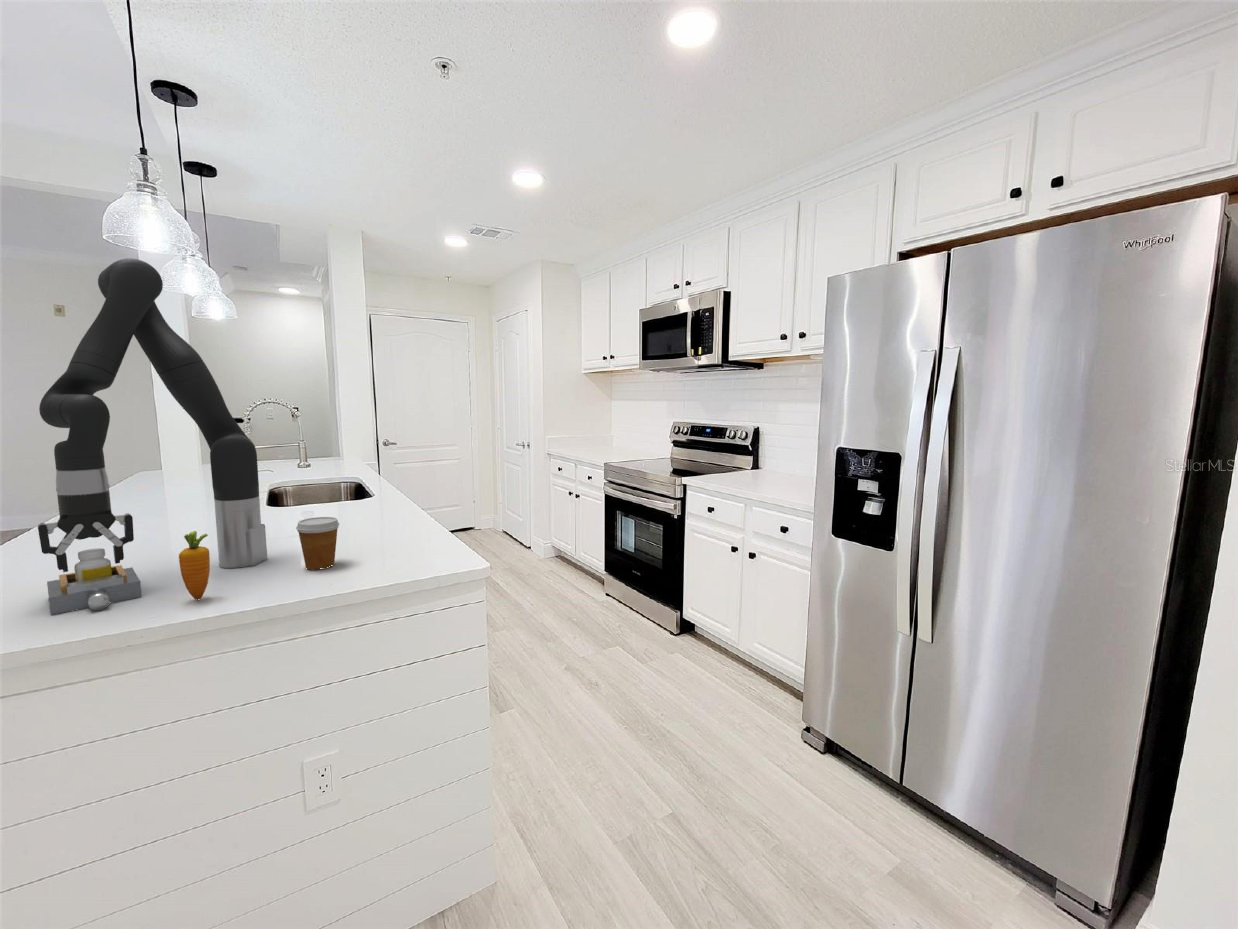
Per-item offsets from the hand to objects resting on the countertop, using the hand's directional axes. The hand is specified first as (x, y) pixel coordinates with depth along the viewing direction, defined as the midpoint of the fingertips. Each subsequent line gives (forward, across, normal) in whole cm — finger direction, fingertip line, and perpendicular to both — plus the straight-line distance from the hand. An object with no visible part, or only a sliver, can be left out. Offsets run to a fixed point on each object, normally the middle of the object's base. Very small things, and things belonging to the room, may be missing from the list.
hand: (92, 566), depth 108 cm
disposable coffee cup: (+7, -40, +13) cm, 42 cm away
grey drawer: (+6, 0, +3) cm, 7 cm away
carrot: (+7, -14, +18) cm, 24 cm away
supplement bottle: (+7, 0, 0) cm, 7 cm away
